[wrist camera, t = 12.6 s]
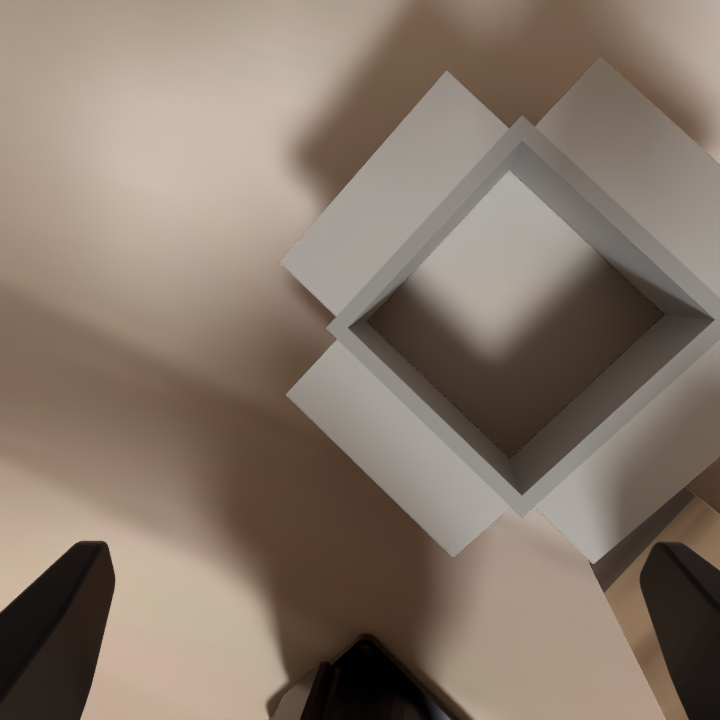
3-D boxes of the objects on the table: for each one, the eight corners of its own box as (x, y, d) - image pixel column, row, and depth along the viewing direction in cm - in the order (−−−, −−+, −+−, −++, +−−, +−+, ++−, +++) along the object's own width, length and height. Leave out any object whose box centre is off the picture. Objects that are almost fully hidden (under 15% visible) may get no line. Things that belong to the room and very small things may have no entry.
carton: (798, 311, 19) (885, 316, 16) (509, 566, 22) (521, 625, 18) (509, 44, 20) (521, -17, 16) (260, 324, 23) (219, 330, 19)
